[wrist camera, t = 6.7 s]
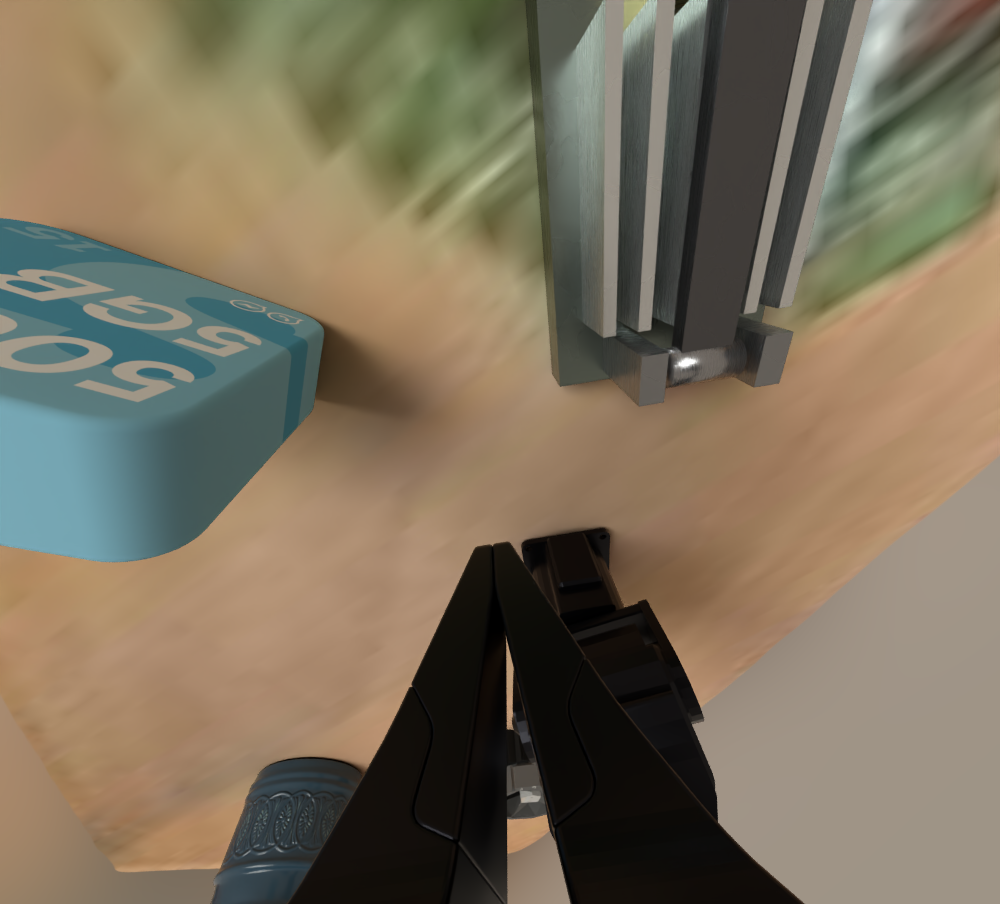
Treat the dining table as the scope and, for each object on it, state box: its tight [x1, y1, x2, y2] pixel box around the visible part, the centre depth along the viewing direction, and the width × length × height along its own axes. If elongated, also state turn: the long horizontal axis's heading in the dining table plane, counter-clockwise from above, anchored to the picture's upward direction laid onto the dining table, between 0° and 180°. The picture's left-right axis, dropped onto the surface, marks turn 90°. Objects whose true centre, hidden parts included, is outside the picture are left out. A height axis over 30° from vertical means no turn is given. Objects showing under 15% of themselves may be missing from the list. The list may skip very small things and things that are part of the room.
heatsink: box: [526, 0, 873, 406], centre depth 13 cm, size 15×10×6 cm, turn 8°
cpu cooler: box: [507, 730, 547, 819], centre depth 43 cm, size 10×6×10 cm
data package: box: [0, 218, 324, 562], centre depth 12 cm, size 12×4×12 cm, turn 68°
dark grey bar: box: [662, 0, 806, 388], centre depth 12 cm, size 13×3×2 cm, turn 8°
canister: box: [210, 759, 362, 904], centre depth 38 cm, size 13×13×18 cm
